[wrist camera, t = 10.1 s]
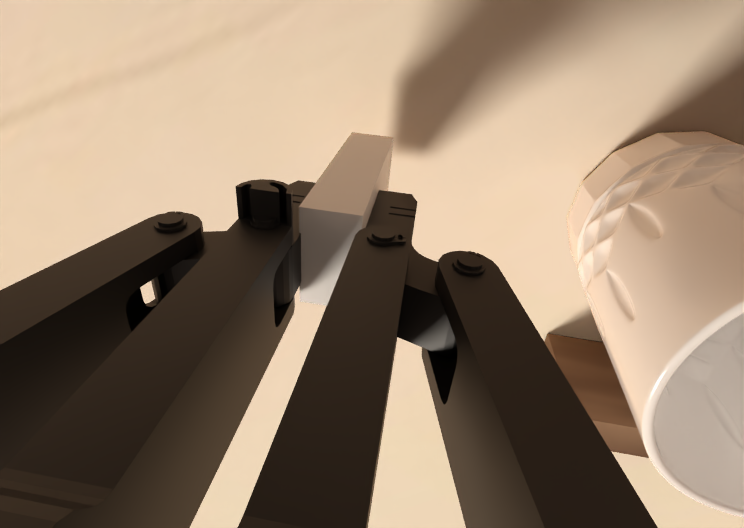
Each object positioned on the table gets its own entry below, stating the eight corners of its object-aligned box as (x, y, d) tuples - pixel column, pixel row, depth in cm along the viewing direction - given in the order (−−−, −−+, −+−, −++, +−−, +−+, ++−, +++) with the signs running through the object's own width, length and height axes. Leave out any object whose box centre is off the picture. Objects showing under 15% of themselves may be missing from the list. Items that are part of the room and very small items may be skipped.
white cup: (755, 68, 14) (1203, 154, 6) (787, 255, 17) (1118, 494, 9) (522, 174, 17) (597, 334, 9) (584, 319, 20) (686, 546, 12)
